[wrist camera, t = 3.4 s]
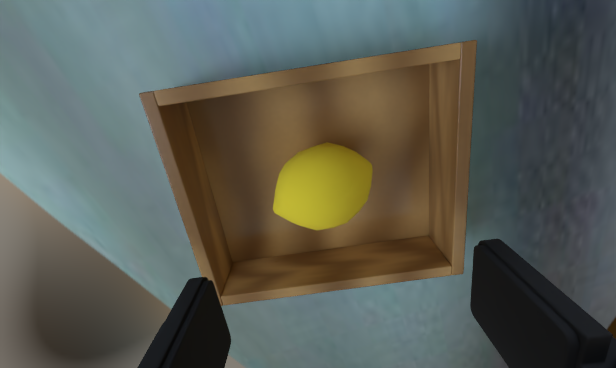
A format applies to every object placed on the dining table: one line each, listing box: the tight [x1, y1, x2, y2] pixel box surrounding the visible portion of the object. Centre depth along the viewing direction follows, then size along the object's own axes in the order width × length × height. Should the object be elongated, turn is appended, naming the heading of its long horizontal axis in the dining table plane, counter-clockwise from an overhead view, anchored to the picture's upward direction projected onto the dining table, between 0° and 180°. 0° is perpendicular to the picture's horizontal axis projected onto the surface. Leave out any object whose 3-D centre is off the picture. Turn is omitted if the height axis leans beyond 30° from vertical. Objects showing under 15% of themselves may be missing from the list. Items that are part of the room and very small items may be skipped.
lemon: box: [273, 142, 373, 230], centre depth 19 cm, size 7×5×5 cm
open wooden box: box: [139, 40, 477, 306], centre depth 20 cm, size 18×15×4 cm
